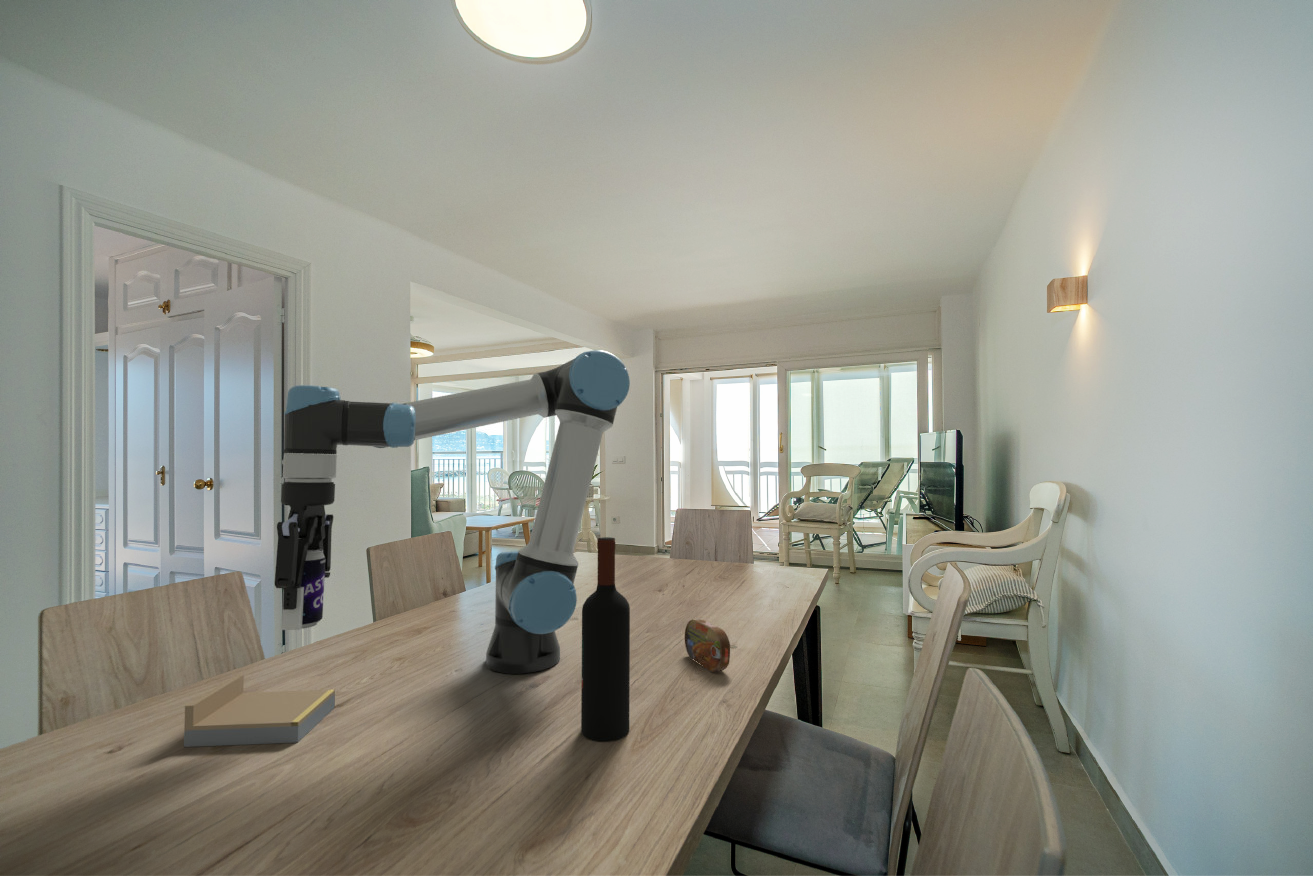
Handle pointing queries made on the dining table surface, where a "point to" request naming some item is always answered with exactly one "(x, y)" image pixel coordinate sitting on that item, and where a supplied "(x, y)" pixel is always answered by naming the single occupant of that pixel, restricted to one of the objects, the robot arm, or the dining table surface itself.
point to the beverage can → (313, 588)
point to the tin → (707, 645)
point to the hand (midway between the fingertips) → (302, 623)
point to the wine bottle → (605, 654)
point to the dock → (253, 715)
